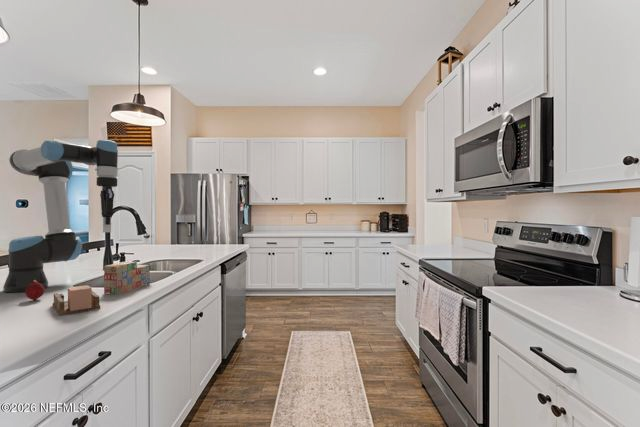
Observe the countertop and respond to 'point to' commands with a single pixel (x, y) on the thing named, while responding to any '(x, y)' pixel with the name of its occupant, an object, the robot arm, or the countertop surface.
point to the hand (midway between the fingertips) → (107, 232)
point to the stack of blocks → (125, 277)
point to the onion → (34, 290)
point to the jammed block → (79, 298)
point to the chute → (62, 305)
